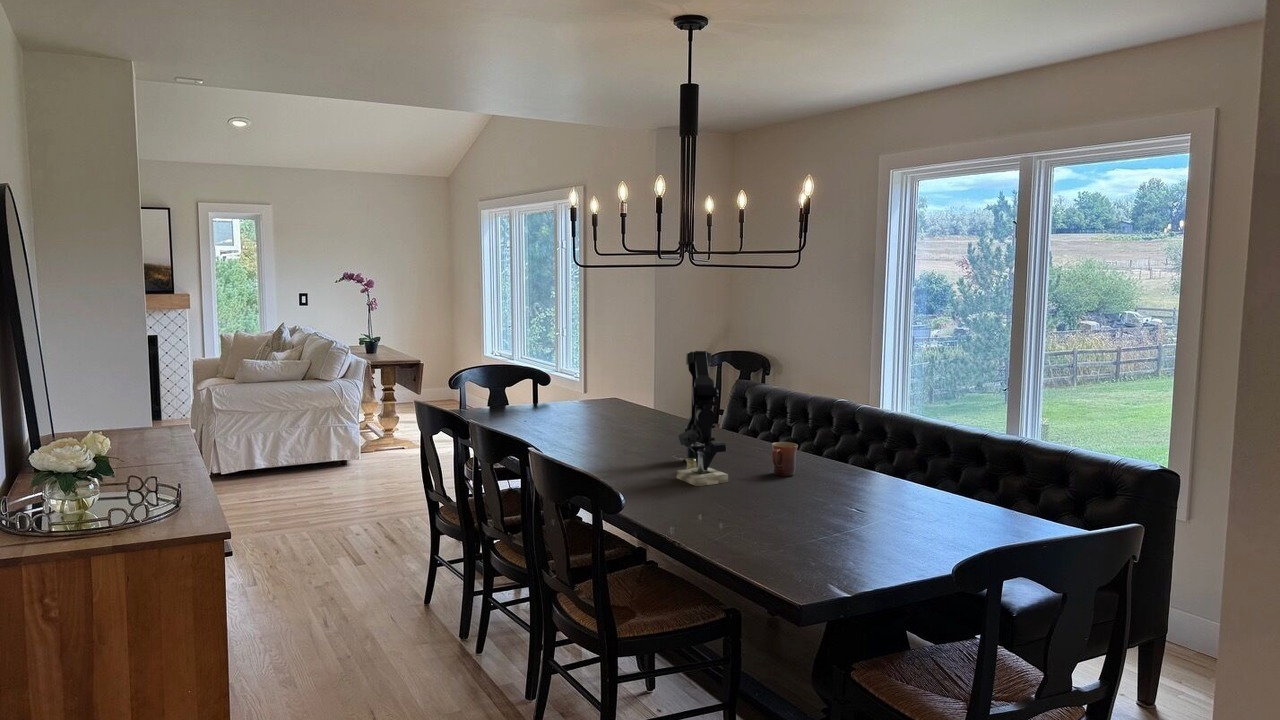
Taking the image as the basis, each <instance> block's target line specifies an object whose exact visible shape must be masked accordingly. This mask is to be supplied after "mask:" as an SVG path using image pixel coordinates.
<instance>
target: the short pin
mask: <svg viewBox="0 0 1280 720" xmlns="http://www.w3.org/2000/svg"><path fill="white" fill-rule="evenodd" d="M685 459H686V461H685V462H686V469H693V468H697V463H696V460H695V458H687V457H686V458H685Z"/></svg>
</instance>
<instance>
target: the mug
mask: <svg viewBox="0 0 1280 720" xmlns="http://www.w3.org/2000/svg"><path fill="white" fill-rule="evenodd" d="M771 447H772V454H771V459H772V468H773V469H772V471H773V474H775V476H778V477H792V476H793V475H794V474H795V471H796V455H797V450H798V447H799V445H798V444H797V443H794V442H788V441H779V442H777V441H776V442H772V443H771Z"/></svg>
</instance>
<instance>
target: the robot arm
mask: <svg viewBox="0 0 1280 720" xmlns="http://www.w3.org/2000/svg"><path fill="white" fill-rule="evenodd" d="M685 365H687V369H688V372H689V373H690V375H691V395H690V396H691V397H690V398H691V403H690V404H691V405H690V417H689V419H688V420H687V421H686V423H685V428H684V429H683V432H681V433H680V434H678V440H679V443H680V445H681V446H685V447H686V458H695V460H696V467H698V453H697V450H699V451H700V452H701V453H702V454H703V467H704V470H707V469H708V467H709V468H710V465H711V463H712V462H713V459H714V457H715V456H716V455H717V453H723V452H727V443H725V442H724V441H720V440H715V437H714V436H713V429H716V425H715V424H716V420H717V416H716V415H717V414H715V412H714V408H713V407H714V406H715V407H718V404H719V402H720V398H719V390H718V387H717V386H715V381H714V380H713V378H711V377H710V371H709V370H710V369H709V366H711V365H712V353H711V352H709V351H707V350H695V351H690V352H688V353H687V354H686V356H685ZM701 449H704V450H701ZM686 458H682V460H683V462H686Z"/></svg>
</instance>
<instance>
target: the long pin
mask: <svg viewBox="0 0 1280 720" xmlns="http://www.w3.org/2000/svg"><path fill="white" fill-rule="evenodd" d="M701 450H704V449H701ZM697 453H698V466H697V468H698V473H699V474H707V470H704V467H703V454H702V453H701V452H700V451H699V450H697Z"/></svg>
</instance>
